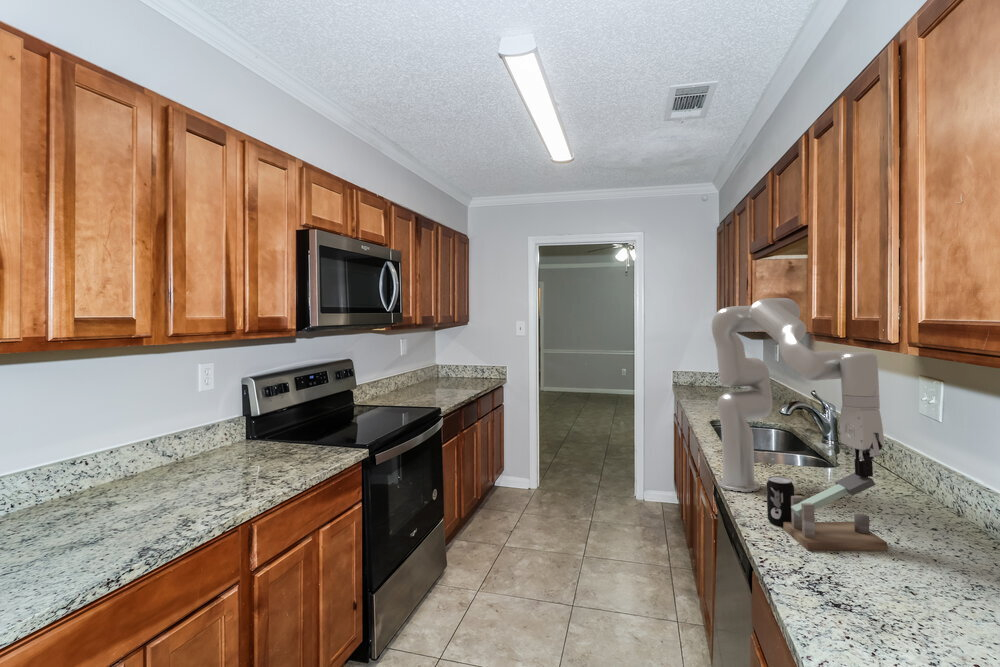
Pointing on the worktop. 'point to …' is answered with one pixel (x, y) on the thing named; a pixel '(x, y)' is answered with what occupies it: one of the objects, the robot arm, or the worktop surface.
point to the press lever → (837, 492)
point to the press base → (831, 532)
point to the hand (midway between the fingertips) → (863, 475)
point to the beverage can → (779, 499)
